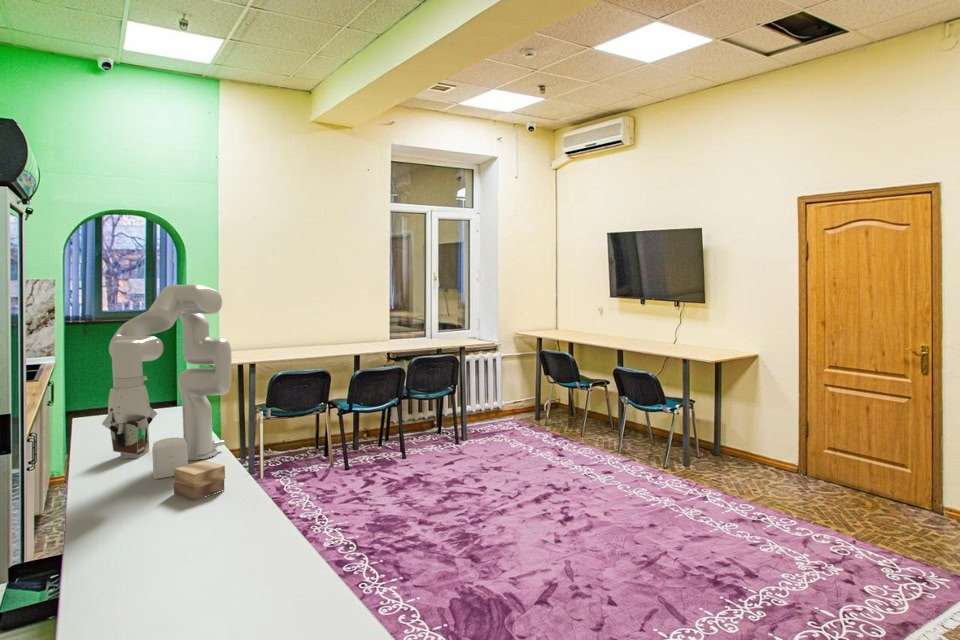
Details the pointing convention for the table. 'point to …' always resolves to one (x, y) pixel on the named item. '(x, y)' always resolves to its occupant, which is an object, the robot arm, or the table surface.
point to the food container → (131, 437)
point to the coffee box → (124, 455)
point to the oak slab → (199, 474)
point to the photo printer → (168, 456)
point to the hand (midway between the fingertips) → (131, 443)
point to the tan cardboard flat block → (198, 490)
